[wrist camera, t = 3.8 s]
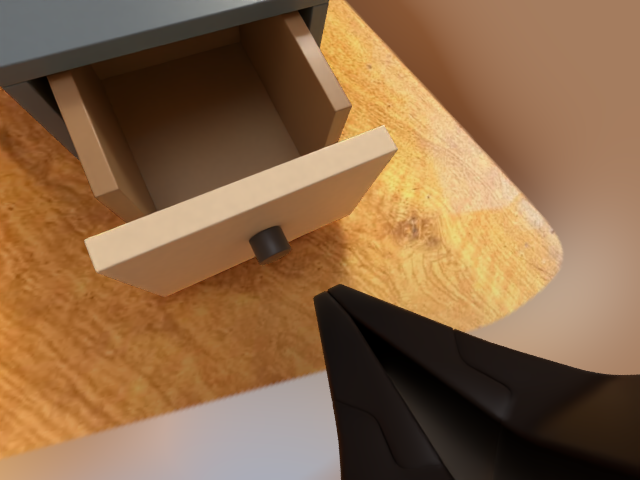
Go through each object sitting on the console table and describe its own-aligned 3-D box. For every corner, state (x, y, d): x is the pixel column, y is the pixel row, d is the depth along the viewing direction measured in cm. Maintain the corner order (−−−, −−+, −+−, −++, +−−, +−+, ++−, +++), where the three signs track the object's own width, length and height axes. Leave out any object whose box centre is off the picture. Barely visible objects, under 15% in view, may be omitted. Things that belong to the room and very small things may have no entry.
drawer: (359, 231, 21) (414, 175, 13) (172, 318, 18) (109, 308, 10) (257, 40, 23) (254, -99, 16) (78, 89, 20) (-30, -52, 13)
